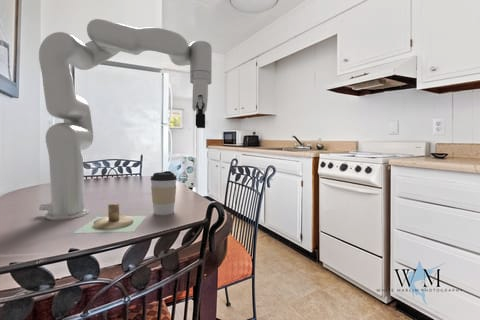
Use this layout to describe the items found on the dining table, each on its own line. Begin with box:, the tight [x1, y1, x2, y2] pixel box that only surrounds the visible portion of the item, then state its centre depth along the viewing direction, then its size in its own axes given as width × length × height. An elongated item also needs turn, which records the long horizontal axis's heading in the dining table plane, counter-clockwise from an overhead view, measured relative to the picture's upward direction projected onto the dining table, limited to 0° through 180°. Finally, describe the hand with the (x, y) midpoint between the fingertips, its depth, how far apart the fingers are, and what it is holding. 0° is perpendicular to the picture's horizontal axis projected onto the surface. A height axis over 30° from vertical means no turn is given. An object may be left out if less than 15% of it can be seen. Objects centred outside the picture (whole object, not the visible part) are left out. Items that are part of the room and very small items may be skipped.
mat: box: [73, 215, 148, 234], centre depth 80 cm, size 16×16×1 cm
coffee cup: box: [150, 170, 178, 216], centre depth 93 cm, size 9×9×15 cm
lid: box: [93, 202, 133, 229], centre depth 79 cm, size 11×11×6 cm
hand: (200, 127), depth 93 cm, fingers open, 9 cm apart
